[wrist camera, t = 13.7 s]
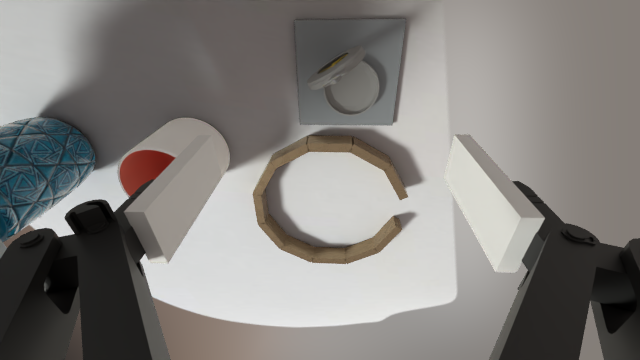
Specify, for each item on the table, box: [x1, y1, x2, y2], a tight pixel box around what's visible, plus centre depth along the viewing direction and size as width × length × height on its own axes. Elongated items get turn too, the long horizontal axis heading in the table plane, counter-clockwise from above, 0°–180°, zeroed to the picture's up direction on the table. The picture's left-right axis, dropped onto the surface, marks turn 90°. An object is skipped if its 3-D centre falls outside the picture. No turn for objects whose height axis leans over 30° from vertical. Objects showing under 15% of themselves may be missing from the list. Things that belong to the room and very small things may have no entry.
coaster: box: [294, 19, 406, 125], centre depth 35 cm, size 12×12×1 cm
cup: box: [118, 118, 230, 197], centre depth 37 cm, size 10×10×10 cm
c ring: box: [253, 135, 408, 264], centre depth 44 cm, size 22×22×2 cm
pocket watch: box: [307, 46, 380, 116], centre depth 30 cm, size 8×8×10 cm
